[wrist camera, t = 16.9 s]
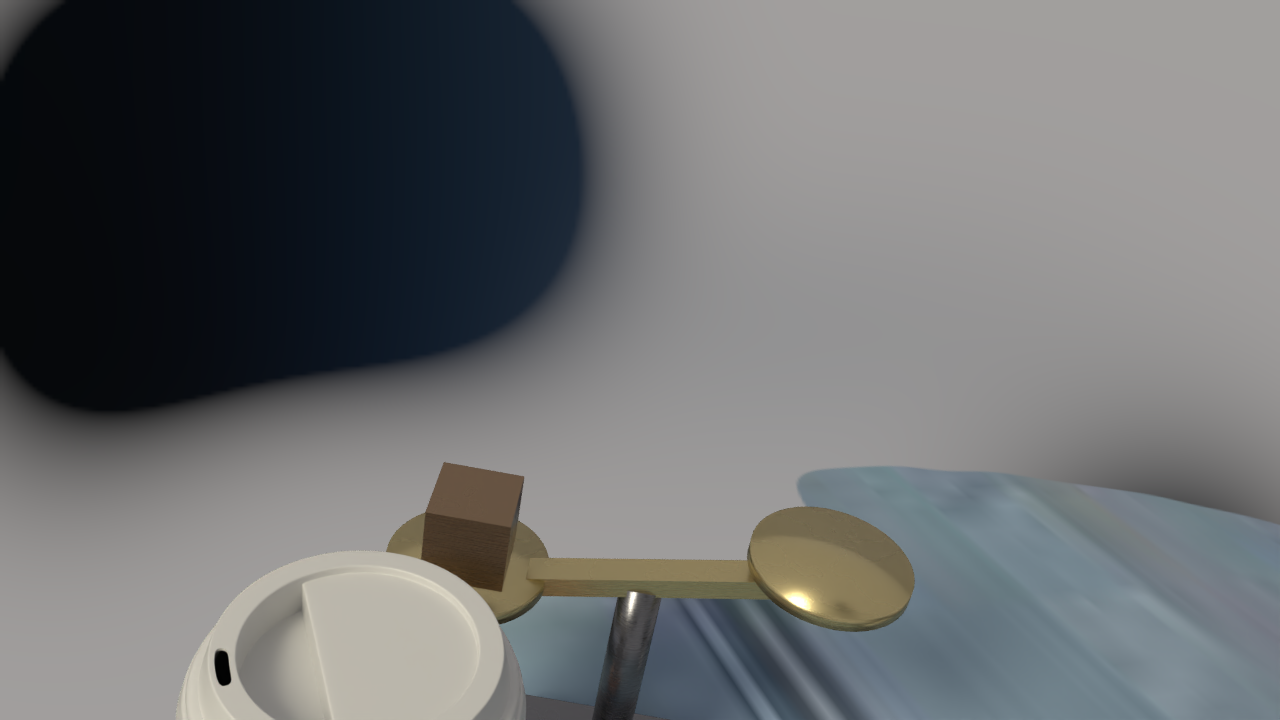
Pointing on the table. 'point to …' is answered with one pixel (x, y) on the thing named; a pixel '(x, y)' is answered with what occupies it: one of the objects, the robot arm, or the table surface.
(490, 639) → the coffee cup
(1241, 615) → the table surface
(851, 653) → the table surface
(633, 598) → the balance
